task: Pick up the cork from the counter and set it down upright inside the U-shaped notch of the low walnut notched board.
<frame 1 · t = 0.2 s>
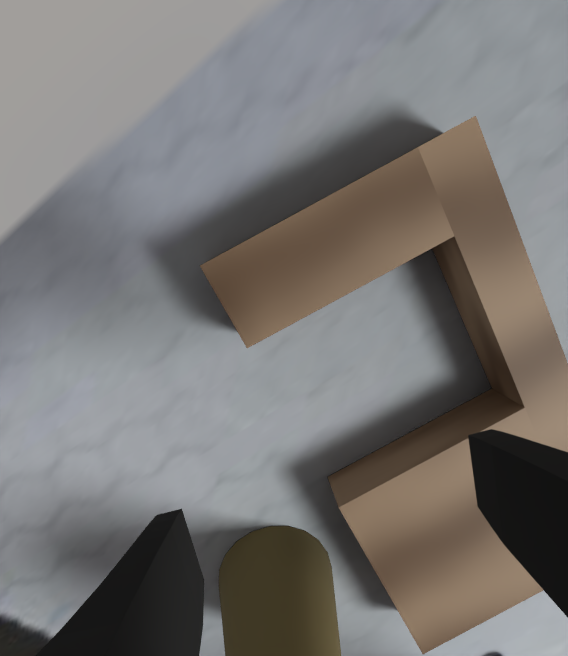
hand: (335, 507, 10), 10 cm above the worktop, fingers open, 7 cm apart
cork: (275, 572, 22), on the worktop
notched board: (421, 401, 21), on the worktop
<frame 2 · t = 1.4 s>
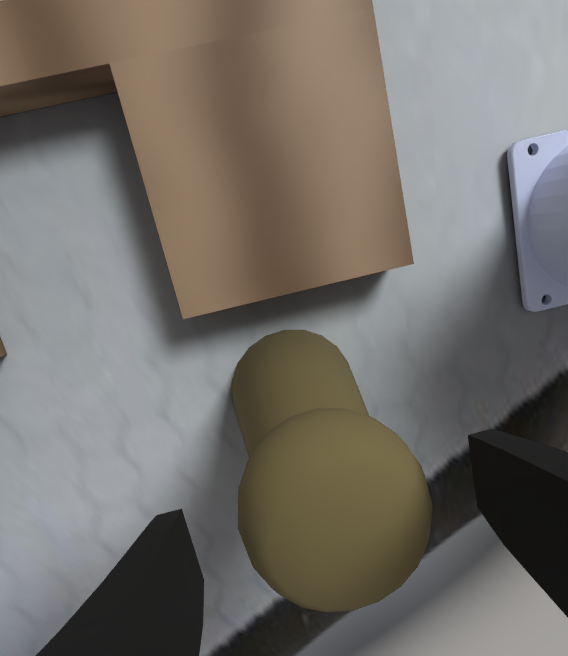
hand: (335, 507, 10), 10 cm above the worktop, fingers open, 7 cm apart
cork: (292, 387, 21), on the worktop
notched board: (124, 182, 18), on the worktop
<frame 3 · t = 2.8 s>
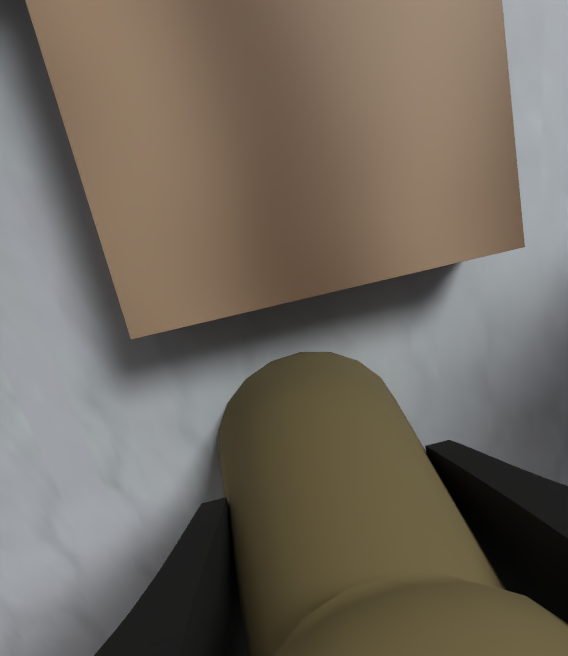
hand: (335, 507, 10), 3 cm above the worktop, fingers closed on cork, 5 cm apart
cork: (311, 438, 13), on the worktop, touching gripper
notched board: (40, 110, 11), on the worktop
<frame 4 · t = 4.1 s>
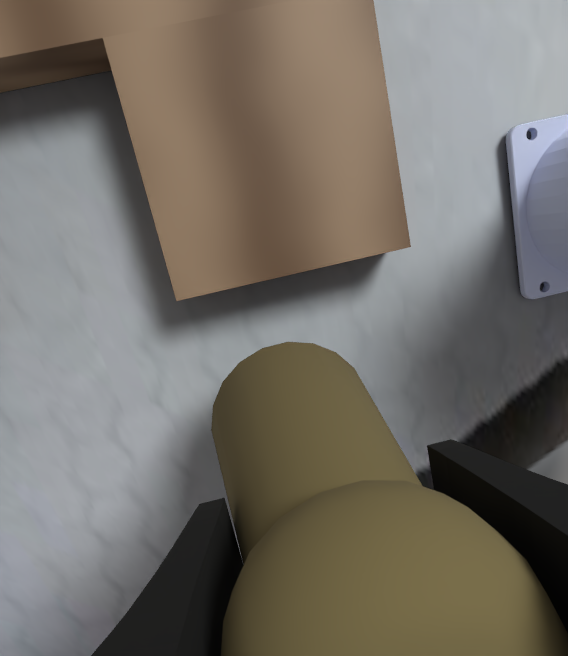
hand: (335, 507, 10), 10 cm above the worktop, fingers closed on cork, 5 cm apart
cork: (291, 418, 16), point 5 cm above the worktop, touching gripper
notched board: (118, 163, 17), on the worktop
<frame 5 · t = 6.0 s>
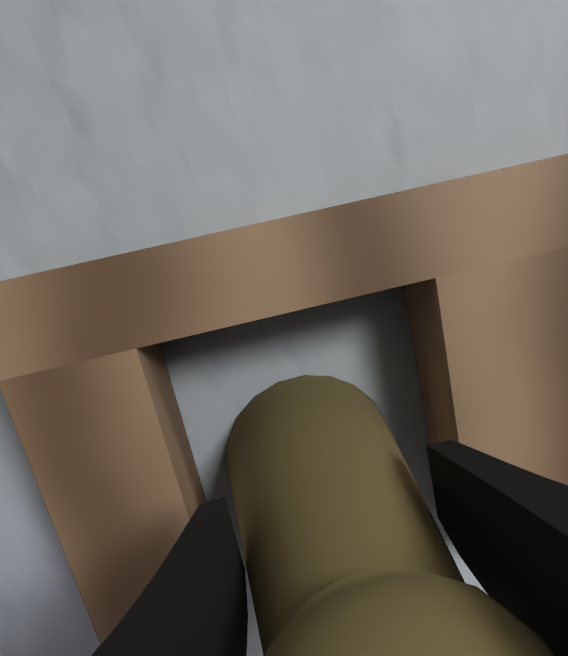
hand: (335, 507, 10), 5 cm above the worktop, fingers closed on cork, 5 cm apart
cork: (309, 451, 15), on the worktop, touching gripper
notched board: (384, 376, 15), on the worktop
when the fingers open (4 cm above the worktop, at t = 6.6 s): cork stays where it is, on the worktop.
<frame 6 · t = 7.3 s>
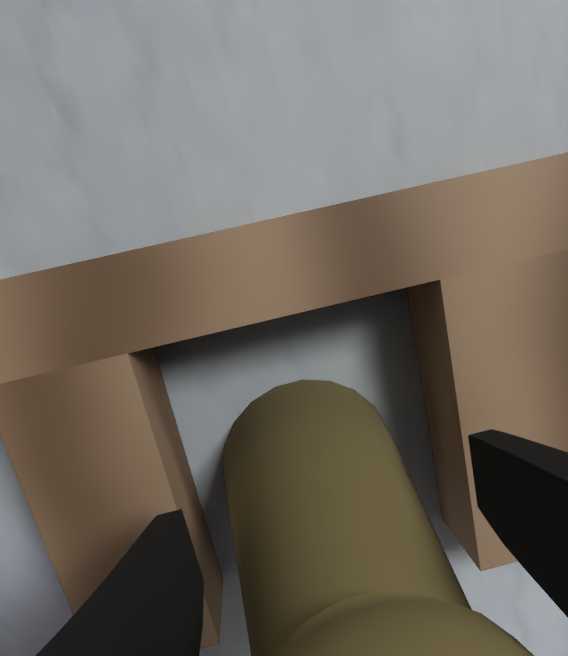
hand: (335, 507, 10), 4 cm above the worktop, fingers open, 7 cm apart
cork: (307, 458, 15), on the worktop
notched board: (385, 380, 14), on the worktop
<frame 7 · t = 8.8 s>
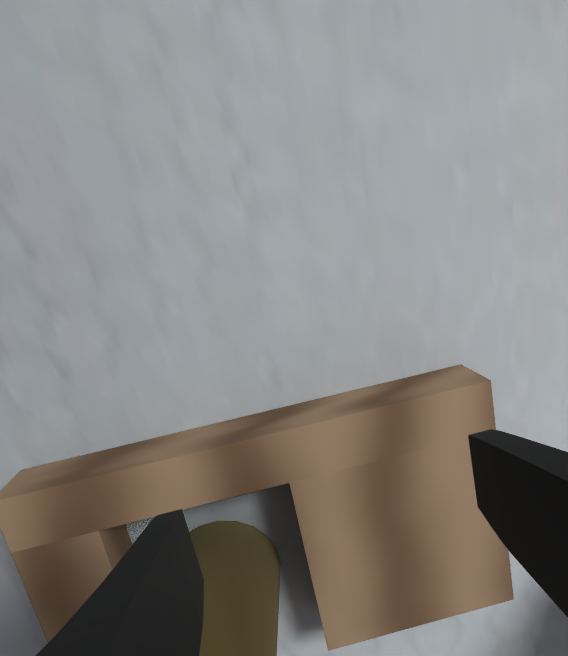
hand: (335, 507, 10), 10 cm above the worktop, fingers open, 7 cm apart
cork: (223, 568, 22), on the worktop
notched board: (274, 520, 21), on the worktop
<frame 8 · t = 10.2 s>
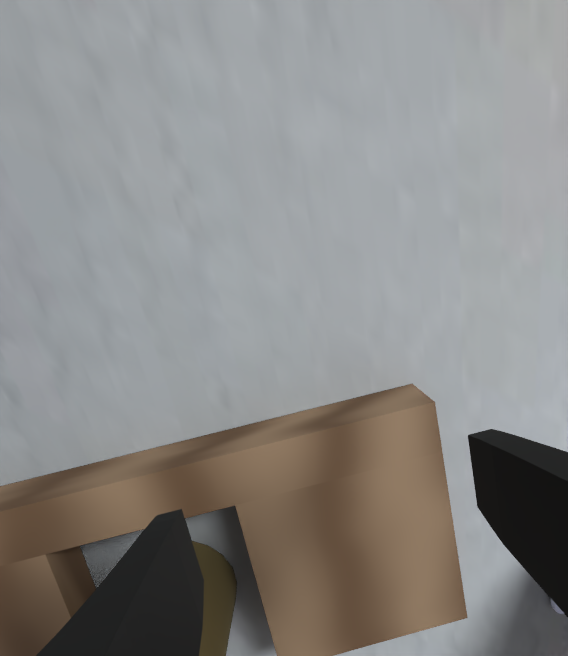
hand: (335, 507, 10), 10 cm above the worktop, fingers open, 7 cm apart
cork: (180, 587, 22), on the worktop
notched board: (228, 539, 22), on the worktop
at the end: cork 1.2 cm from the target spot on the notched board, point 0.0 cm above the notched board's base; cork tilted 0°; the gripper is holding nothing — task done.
